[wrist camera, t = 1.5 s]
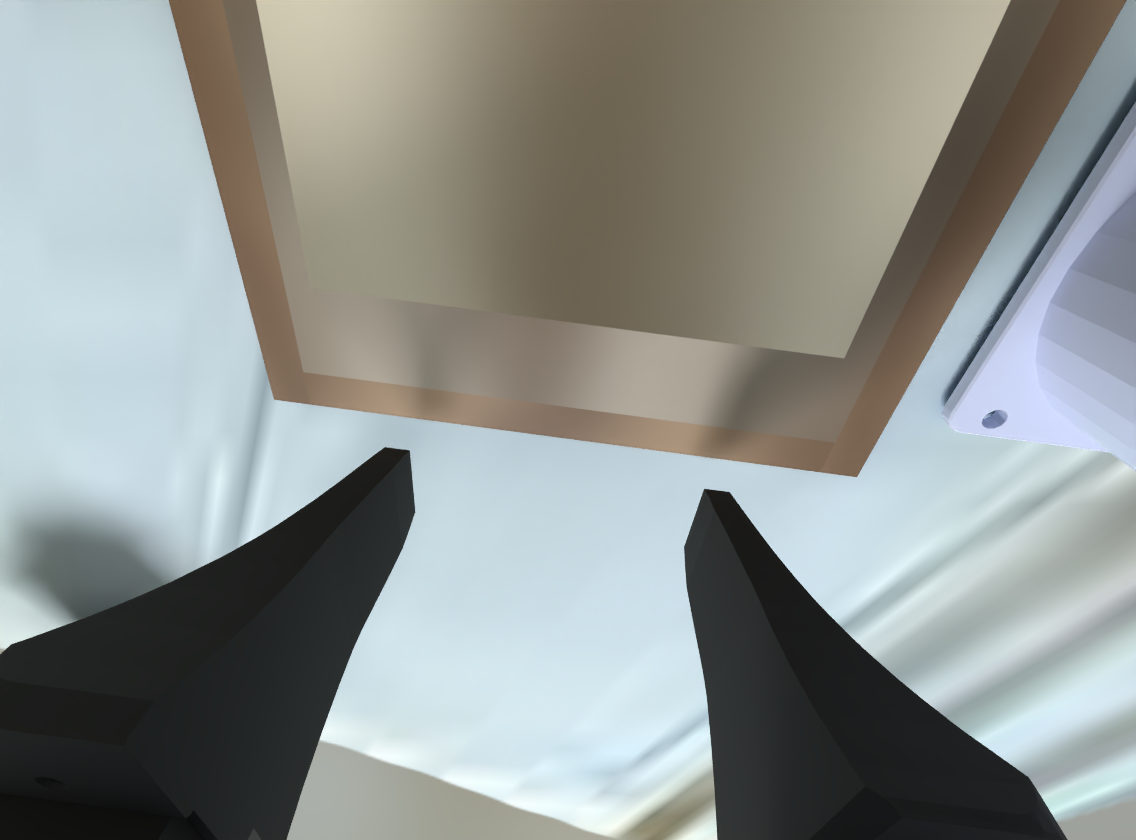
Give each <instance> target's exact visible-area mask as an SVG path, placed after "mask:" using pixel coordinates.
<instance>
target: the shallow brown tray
mask: <svg viewBox="0 0 1136 840" xmlns="http://www.w3.org/2000/svg"><path fill="white" fill-rule="evenodd" d="M1125 2H1126V0H1011V1H1010V3H1009V5H1008V7H1007V10H1006V12H1005V14H1004V16H1003V18H1002V20H1001V23H1000V25H999V27H998V29H997V31H996V33H995V35H994V38H993V40H992V42H991V44H990V46H989V48H988V50H987V53H986V55H985V57H984V59H983V61H982V63H981V65H980V68H979V70H978V72H977V74H976V76H975V78H974V81H973V83H972V85H971V87H970V89H969V91H968V93H967V96H966V98H965V100H964V102H963V104H962V106H961V108H960V111H959V113H958V115H957V117H956V119H955V121H954V123H953V126H952V128H951V130H950V132H949V134H948V136H947V139H946V141H945V143H944V145H943V147H942V149H941V151H940V154H939V156H938V158H937V160H936V162H935V164H934V166H933V169H932V171H931V173H930V175H929V177H928V179H927V181H926V184H925V186H924V188H923V190H922V192H921V194H920V197H919V199H918V201H917V203H916V205H915V207H914V209H913V212H912V214H911V216H910V218H909V220H908V222H907V224H906V227H905V229H904V231H903V233H902V235H901V237H900V240H899V242H898V244H897V246H896V248H895V250H894V252H893V255H892V257H891V259H890V261H889V263H888V265H887V267H886V270H885V272H884V274H883V276H882V278H881V280H880V282H879V285H878V287H877V289H876V291H875V293H874V295H873V298H872V300H871V302H870V304H869V306H868V308H867V310H866V313H865V315H864V317H863V319H862V321H861V323H860V325H859V328H858V330H857V332H856V334H855V336H854V338H853V340H852V343H851V345H850V347H849V349H848V351H847V353H846V356H845V358H837V357H829V356H822V355H814V354H806V353H799V352H791V351H784V350H776V349H768V348H761V347H753V346H746V345H738V344H730V343H723V342H715V341H708V340H700V339H692V338H685V337H677V336H669V335H662V334H654V333H647V332H639V331H631V330H624V329H616V328H609V327H601V326H593V325H586V324H578V323H571V322H563V321H555V320H548V319H540V318H533V317H525V316H517V315H510V314H502V313H495V312H487V311H479V310H472V309H464V308H457V307H449V306H441V305H434V304H426V303H419V302H411V301H403V300H396V299H388V298H381V297H373V296H365V295H358V294H350V293H343V292H335V291H327V290H320V289H312V288H310V284H309V279H308V274H307V268H306V263H305V258H304V252H303V247H302V242H301V236H300V231H299V226H298V221H297V215H296V210H295V205H294V199H293V194H292V189H291V183H290V178H289V173H288V167H287V162H286V157H285V152H284V146H283V141H282V136H281V130H280V125H279V120H278V114H277V109H276V104H275V98H274V93H273V88H272V82H271V77H270V72H269V67H268V61H267V56H266V51H265V45H264V40H263V35H262V29H261V24H260V19H259V13H258V8H257V3H256V0H169V3H170V7H171V11H172V14H173V18H174V22H175V26H176V30H177V33H178V37H179V41H180V45H181V48H182V52H183V56H184V60H185V64H186V67H187V71H188V75H189V79H190V83H191V86H192V90H193V94H194V98H195V102H196V105H197V109H198V113H199V117H200V120H201V124H202V128H203V132H204V136H205V139H206V143H207V147H208V151H209V155H210V158H211V162H212V166H213V170H214V174H215V177H216V181H217V185H218V189H219V192H220V196H221V200H222V204H223V208H224V211H225V215H226V219H227V223H228V227H229V230H230V234H231V238H232V242H233V246H234V249H235V253H236V257H237V261H238V264H239V268H240V272H241V276H242V280H243V283H244V287H245V291H246V295H247V299H248V302H249V306H250V310H251V314H252V318H253V321H254V325H255V329H256V333H257V336H258V340H259V344H260V348H261V352H262V355H263V359H264V363H265V367H266V371H267V374H268V378H269V382H270V386H271V390H272V393H273V397H274V400H281V401H289V402H296V403H304V404H311V405H319V406H327V407H334V408H342V409H349V410H357V411H364V412H372V413H379V414H387V415H394V416H402V417H409V418H417V419H424V420H432V421H439V422H447V423H454V424H462V425H469V426H477V427H484V428H492V429H500V430H507V431H515V432H522V433H530V434H537V435H545V436H552V437H560V438H567V439H575V440H582V441H590V442H597V443H605V444H612V445H620V446H627V447H635V448H642V449H650V450H657V451H665V452H672V453H680V454H688V455H695V456H703V457H710V458H718V459H725V460H733V461H740V462H748V463H755V464H763V465H770V466H778V467H785V468H793V469H800V470H808V471H815V472H823V473H830V474H838V475H845V476H853V477H857V476H858V474H859V472H860V471H861V469H862V467H863V465H864V464H865V462H866V460H867V458H868V457H869V455H870V453H871V451H872V449H873V448H874V446H875V444H876V442H877V441H878V439H879V437H880V435H881V434H882V432H883V430H884V428H885V426H886V425H887V423H888V421H889V419H890V418H891V416H892V414H893V412H894V411H895V409H896V407H897V405H898V403H899V402H900V400H901V398H902V396H903V395H904V393H905V391H906V389H907V388H908V386H909V384H910V382H911V381H912V379H913V377H914V375H915V373H916V372H917V370H918V368H919V366H920V365H921V363H922V361H923V359H924V358H925V356H926V354H927V352H928V350H929V349H930V347H931V345H932V343H933V342H934V340H935V338H936V336H937V335H938V333H939V331H940V329H941V327H942V326H943V324H944V322H945V320H946V319H947V317H948V315H949V313H950V312H951V310H952V308H953V306H954V304H955V303H956V301H957V299H958V297H959V296H960V294H961V292H962V290H963V289H964V287H965V285H966V283H967V282H968V280H969V278H970V276H971V274H972V273H973V271H974V269H975V267H976V266H977V264H978V262H979V260H980V259H981V257H982V255H983V253H984V251H985V250H986V248H987V246H988V244H989V243H990V241H991V239H992V237H993V236H994V234H995V232H996V230H997V228H998V227H999V225H1000V223H1001V221H1002V220H1003V218H1004V216H1005V214H1006V213H1007V211H1008V209H1009V207H1010V206H1011V204H1012V202H1013V200H1014V198H1015V197H1016V195H1017V193H1018V191H1019V190H1020V188H1021V186H1022V184H1023V183H1024V181H1025V179H1026V177H1027V175H1028V174H1029V172H1030V170H1031V168H1032V167H1033V165H1034V163H1035V161H1036V160H1037V158H1038V156H1039V154H1040V152H1041V151H1042V149H1043V147H1044V145H1045V144H1046V142H1047V140H1048V138H1049V137H1050V135H1051V133H1052V131H1053V129H1054V128H1055V126H1056V124H1057V122H1058V121H1059V119H1060V117H1061V115H1062V114H1063V112H1064V110H1065V108H1066V107H1067V105H1068V103H1069V101H1070V99H1071V98H1072V96H1073V94H1074V92H1075V91H1076V89H1077V87H1078V85H1079V84H1080V82H1081V80H1082V78H1083V76H1084V75H1085V73H1086V71H1087V69H1088V68H1089V66H1090V64H1091V62H1092V61H1093V59H1094V57H1095V55H1096V53H1097V52H1098V50H1099V48H1100V46H1101V45H1102V43H1103V41H1104V39H1105V38H1106V36H1107V34H1108V32H1109V30H1110V29H1111V27H1112V25H1113V23H1114V22H1115V20H1116V18H1117V16H1118V15H1119V13H1120V11H1121V9H1122V8H1123V6H1124V4H1125Z"/></svg>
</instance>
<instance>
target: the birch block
mask: <svg viewBox="0 0 1136 840" xmlns="http://www.w3.org/2000/svg"><path fill="white" fill-rule="evenodd" d="M1010 1H1011V0H256V3H257V8H258V13H259V19H260V24H261V29H262V35H263V40H264V45H265V51H266V56H267V61H268V67H269V72H270V77H271V82H272V88H273V93H274V98H275V104H276V109H277V114H278V120H279V125H280V130H281V136H282V141H283V146H284V152H285V157H286V162H287V167H288V173H289V178H290V183H291V189H292V194H293V199H294V205H295V210H296V215H297V221H298V226H299V231H300V236H301V242H302V247H303V252H304V258H305V263H306V268H307V274H308V279H309V284H310V288H312V289H320V290H327V291H335V292H343V293H350V294H358V295H365V296H373V297H381V298H388V299H396V300H403V301H411V302H419V303H426V304H434V305H441V306H449V307H457V308H464V309H472V310H479V311H487V312H495V313H502V314H510V315H517V316H525V317H533V318H540V319H548V320H555V321H563V322H571V323H578V324H586V325H593V326H601V327H609V328H616V329H624V330H631V331H639V332H647V333H654V334H662V335H669V336H677V337H685V338H692V339H700V340H708V341H715V342H723V343H730V344H738V345H746V346H753V347H761V348H768V349H776V350H784V351H791V352H799V353H806V354H814V355H822V356H829V357H837V358H845V356H846V353H847V351H848V349H849V347H850V345H851V343H852V340H853V338H854V336H855V334H856V332H857V330H858V328H859V325H860V323H861V321H862V319H863V317H864V315H865V313H866V310H867V308H868V306H869V304H870V302H871V300H872V298H873V295H874V293H875V291H876V289H877V287H878V285H879V282H880V280H881V278H882V276H883V274H884V272H885V270H886V267H887V265H888V263H889V261H890V259H891V257H892V255H893V252H894V250H895V248H896V246H897V244H898V242H899V240H900V237H901V235H902V233H903V231H904V229H905V227H906V224H907V222H908V220H909V218H910V216H911V214H912V212H913V209H914V207H915V205H916V203H917V201H918V199H919V197H920V194H921V192H922V190H923V188H924V186H925V184H926V181H927V179H928V177H929V175H930V173H931V171H932V169H933V166H934V164H935V162H936V160H937V158H938V156H939V154H940V151H941V149H942V147H943V145H944V143H945V141H946V139H947V136H948V134H949V132H950V130H951V128H952V126H953V123H954V121H955V119H956V117H957V115H958V113H959V111H960V108H961V106H962V104H963V102H964V100H965V98H966V96H967V93H968V91H969V89H970V87H971V85H972V83H973V81H974V78H975V76H976V74H977V72H978V70H979V68H980V65H981V63H982V61H983V59H984V57H985V55H986V53H987V50H988V48H989V46H990V44H991V42H992V40H993V38H994V35H995V33H996V31H997V29H998V27H999V25H1000V23H1001V20H1002V18H1003V16H1004V14H1005V12H1006V10H1007V7H1008V5H1009V3H1010Z"/></svg>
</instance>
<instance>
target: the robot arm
mask: <svg viewBox="0 0 1136 840" xmlns="http://www.w3.org/2000/svg"><path fill="white" fill-rule="evenodd" d="M995 410H996V411H995ZM992 411H995V413H994V414H993V415H991V416H990V417H988V418H986V419H983V418H984V417H985V416H986V415H987V414H988V413H990V412H992ZM942 419H943V420H944V421H945V422H946V423H947V424H948V425H949V426H950V427H951V428H952V429H953V430H954V431H957V432H960V433H967V434H975V435H982V436H990V437H997V438H1005V439H1012V440H1020V441H1027V442H1035V443H1043V444H1050V445H1058V446H1065V447H1073V448H1080V449H1088V450H1095V451H1103V452H1110V453H1111V454H1113V455H1114V456H1115V457H1117V458H1118V459H1120V460H1121V461H1122V462H1124V463H1125V464H1127V465H1128V466H1129V467H1131V468H1132V469H1133V470H1135V471H1136V102H1135V103H1134V105H1133V107H1132V108H1131V110H1130V111H1129V113H1128V115H1127V116H1126V118H1125V119H1124V121H1123V123H1122V124H1121V126H1120V127H1119V129H1118V130H1117V132H1116V134H1115V135H1114V137H1113V138H1112V140H1111V142H1110V143H1109V145H1108V146H1107V148H1106V150H1105V151H1104V153H1103V154H1102V156H1101V158H1100V159H1099V161H1098V162H1097V164H1096V165H1095V167H1094V169H1093V170H1092V172H1091V173H1090V175H1089V177H1088V178H1087V180H1086V181H1085V183H1084V185H1083V186H1082V188H1081V189H1080V191H1079V192H1078V194H1077V196H1076V197H1075V199H1074V200H1073V202H1072V204H1071V205H1070V207H1069V208H1068V210H1067V212H1066V213H1065V215H1064V216H1063V218H1062V220H1061V221H1060V223H1059V224H1058V226H1057V227H1056V229H1055V231H1054V232H1053V234H1052V235H1051V237H1050V239H1049V240H1048V242H1047V243H1046V245H1045V247H1044V248H1043V250H1042V251H1041V253H1040V255H1039V256H1038V258H1037V259H1036V261H1035V262H1034V264H1033V266H1032V267H1031V269H1030V270H1029V272H1028V274H1027V275H1026V277H1025V278H1024V280H1023V282H1022V283H1021V285H1020V286H1019V288H1018V290H1017V291H1016V293H1015V294H1014V296H1013V297H1012V299H1011V301H1010V302H1009V304H1008V305H1007V307H1006V309H1005V310H1004V312H1003V313H1002V315H1001V317H1000V318H999V320H998V321H997V323H996V325H995V326H994V328H993V329H992V331H991V332H990V334H989V336H988V337H987V339H986V340H985V342H984V344H983V345H982V347H981V348H980V350H979V352H978V353H977V355H976V356H975V358H974V360H973V361H972V363H971V364H970V366H969V367H968V369H967V371H966V372H965V374H964V375H963V377H962V379H961V380H960V382H959V383H958V385H957V387H956V388H955V390H954V391H953V393H952V394H951V396H950V398H949V399H948V401H947V402H946V404H945V406H944V408H943V411H942ZM414 514H415V505H414V493H413V482H412V471H411V460H410V451H409V450H402V449H394V448H386V447H385V448H383V449H382V450H381V451H379V452H378V453H377V454H375V455H374V456H372V457H371V458H370V459H369V460H367V461H366V462H365V463H363V464H362V465H361V466H359V467H358V468H357V469H355V470H354V471H353V472H352V473H350V474H349V475H348V476H346V477H345V478H344V479H342V480H341V481H340V482H338V483H337V484H336V485H334V486H333V487H332V488H330V489H329V490H327V491H326V492H325V493H323V494H322V495H321V496H319V497H318V498H317V499H315V500H314V501H312V502H311V503H309V504H308V505H306V506H305V507H303V508H302V509H300V510H299V511H297V512H296V513H295V514H293V515H292V516H290V517H289V518H287V519H286V520H284V521H283V522H281V523H280V524H278V525H276V526H275V527H273V528H272V529H270V530H268V531H267V532H265V533H263V534H262V535H260V536H258V537H257V538H255V539H253V540H251V541H250V542H248V543H246V544H244V545H243V546H241V547H239V548H237V549H236V550H234V551H232V552H230V553H228V554H226V555H225V556H223V557H221V558H219V559H217V560H215V561H213V562H211V563H209V564H207V565H205V566H203V567H201V568H199V569H197V570H195V571H192V572H190V573H188V574H186V575H184V576H182V577H180V578H178V579H176V580H174V581H172V582H170V583H168V584H166V585H163V586H161V587H159V588H157V589H154V590H152V591H150V592H148V593H145V594H143V595H141V596H138V597H136V598H134V599H131V600H129V601H126V602H124V603H122V604H119V605H117V606H114V607H112V608H110V609H107V610H104V611H102V612H99V613H97V614H94V615H92V616H89V617H87V618H84V619H81V620H78V621H76V622H73V623H70V624H67V625H65V626H62V627H59V628H56V629H54V630H51V631H48V632H45V633H43V634H40V635H37V636H34V637H32V638H29V639H26V640H23V641H20V642H17V643H14V644H11V645H10V646H9V647H8V648H7V649H6V650H5V651H3V652H2V653H1V654H0V840H286V839H287V836H288V833H289V829H290V826H291V823H292V820H293V817H294V814H295V811H296V807H297V804H298V801H299V798H300V795H301V791H302V788H303V786H304V782H305V780H306V777H307V774H308V771H309V768H310V765H311V762H312V759H313V756H314V753H315V750H316V747H317V745H318V742H319V739H320V736H321V733H322V730H323V727H324V725H325V722H326V719H327V717H328V714H329V711H330V708H331V706H332V703H333V700H334V697H335V695H336V692H337V689H338V687H339V684H340V681H341V679H342V676H343V674H344V671H345V668H346V666H347V663H348V661H349V658H350V656H351V653H352V650H353V648H354V646H355V644H356V641H357V639H358V637H359V635H360V633H361V630H362V628H363V626H364V624H365V622H366V621H367V619H368V617H369V615H370V613H371V611H372V609H373V607H374V605H375V603H376V601H377V599H378V597H379V595H380V593H381V591H382V589H383V587H384V585H385V583H386V581H387V579H388V577H389V575H390V573H391V571H392V569H393V567H394V565H395V563H396V561H397V559H398V557H399V555H400V553H401V550H402V548H403V545H404V543H405V540H406V537H407V535H408V532H409V529H410V526H411V523H412V520H413V517H414ZM684 552H685V570H686V584H687V591H688V596H689V602H690V607H691V612H692V618H693V623H694V628H695V633H696V638H697V643H698V649H699V654H700V659H701V664H702V669H703V674H704V681H705V687H706V694H707V703H708V714H709V724H710V735H711V747H712V760H713V773H714V786H715V804H716V821H717V839H718V840H1067V838H1066V837H1065V835H1064V833H1063V832H1062V830H1061V829H1060V827H1059V825H1058V824H1057V822H1056V820H1055V819H1054V817H1053V815H1052V814H1051V812H1050V810H1049V809H1048V807H1047V806H1046V804H1045V802H1044V801H1043V799H1042V797H1041V796H1040V794H1039V793H1038V791H1037V789H1036V788H1035V786H1034V785H1033V783H1032V782H1031V780H1030V779H1029V777H1027V776H1026V775H1025V774H1023V773H1022V772H1020V771H1019V770H1017V769H1016V768H1015V767H1013V766H1012V765H1010V764H1009V763H1008V762H1006V761H1005V760H1003V759H1002V758H1001V757H999V756H998V755H996V754H995V753H994V752H992V751H991V750H989V749H988V748H987V747H985V746H984V745H982V744H981V743H979V742H978V741H977V740H975V739H974V738H972V737H971V736H970V735H968V734H967V733H965V732H964V731H963V730H961V729H960V728H959V727H957V726H956V725H955V724H953V723H952V722H951V721H950V720H948V719H947V718H946V717H944V716H943V715H942V714H941V713H939V712H938V711H937V710H935V709H934V708H933V707H932V706H930V705H929V704H928V703H926V702H925V701H924V700H923V699H921V698H920V697H919V696H918V695H917V694H915V693H914V692H913V691H912V690H910V689H909V688H908V687H907V686H906V685H904V684H903V683H902V682H901V681H900V680H898V679H897V678H896V677H895V676H894V675H893V674H891V673H890V672H889V671H888V670H887V669H886V668H885V667H884V666H882V665H881V664H880V663H879V662H878V661H877V660H876V659H874V658H873V657H872V656H871V655H870V654H869V653H868V652H867V651H866V650H864V649H863V648H862V647H861V646H860V645H859V644H858V643H857V642H856V641H855V640H854V639H853V638H852V637H851V636H850V635H849V634H848V633H847V632H846V631H845V630H844V629H843V628H842V627H841V626H840V625H839V624H838V623H837V622H836V621H835V620H834V619H833V618H832V617H831V616H830V615H829V614H828V613H827V612H826V611H825V610H824V609H823V608H822V607H821V606H820V605H819V604H818V603H817V602H816V601H815V600H814V599H813V597H812V596H811V595H810V594H809V593H808V592H807V591H806V589H805V588H804V587H803V586H802V585H801V584H800V583H799V581H798V580H797V579H796V578H795V577H794V576H793V575H792V573H791V572H790V571H789V570H788V569H787V567H786V566H785V565H784V564H783V562H782V561H781V560H780V559H779V557H778V556H777V555H776V554H775V552H774V551H773V550H772V549H771V547H770V546H769V545H768V543H767V542H766V541H765V540H764V538H763V537H762V536H761V534H760V533H759V532H758V530H757V529H756V528H755V526H754V525H753V524H752V522H751V521H750V519H749V518H748V517H747V515H746V514H745V513H744V511H743V510H742V509H741V507H740V506H739V504H738V503H737V502H736V500H735V499H734V498H733V496H732V495H731V494H730V492H724V491H717V490H709V489H704V491H703V494H702V497H701V500H700V503H699V506H698V509H697V512H696V514H695V517H694V520H693V523H692V526H691V529H690V532H689V535H688V538H687V541H686V543H685V546H684Z"/></svg>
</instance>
